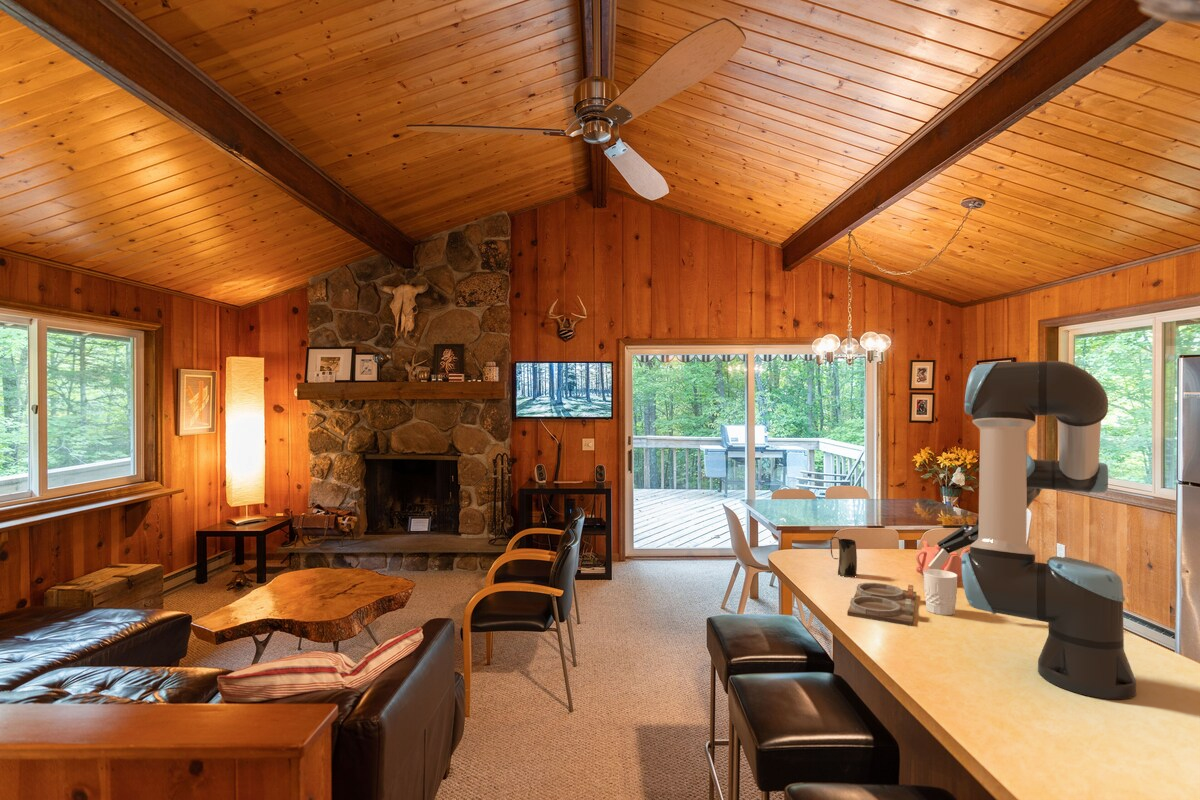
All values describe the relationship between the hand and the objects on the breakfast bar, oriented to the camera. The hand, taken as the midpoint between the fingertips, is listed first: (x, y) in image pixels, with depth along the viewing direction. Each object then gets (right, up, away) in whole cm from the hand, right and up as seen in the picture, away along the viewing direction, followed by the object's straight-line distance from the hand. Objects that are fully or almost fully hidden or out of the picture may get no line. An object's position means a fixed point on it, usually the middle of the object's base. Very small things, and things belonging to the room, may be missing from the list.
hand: (950, 576), depth 161 cm
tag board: (-16, -9, +3) cm, 19 cm away
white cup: (-4, -9, -2) cm, 10 cm away
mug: (-16, -9, +32) cm, 37 cm away
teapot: (+13, -9, +26) cm, 30 cm away
